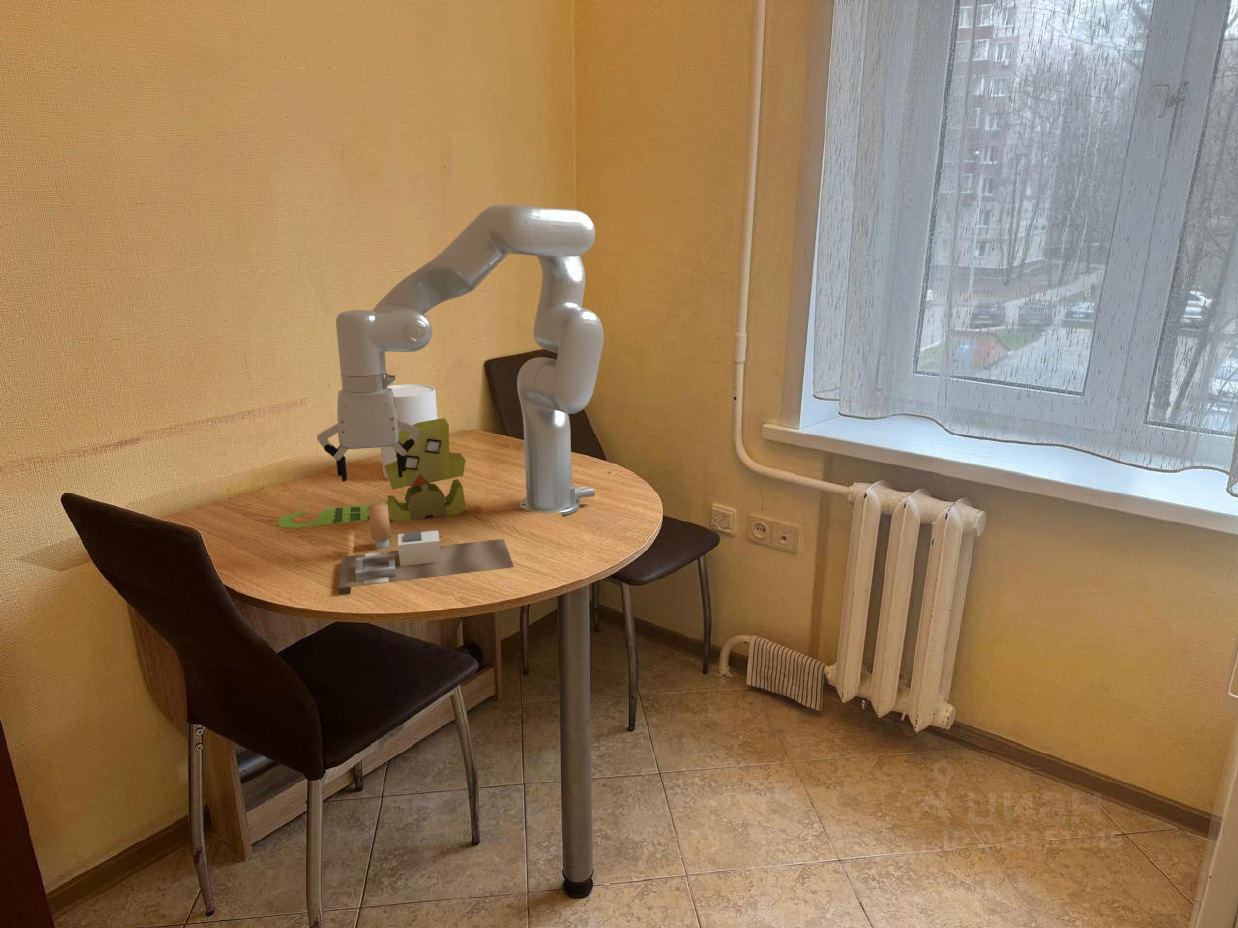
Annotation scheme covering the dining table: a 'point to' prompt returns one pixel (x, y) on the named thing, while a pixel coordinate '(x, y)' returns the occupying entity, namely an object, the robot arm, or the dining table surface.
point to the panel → (452, 562)
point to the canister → (410, 411)
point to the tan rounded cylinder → (380, 524)
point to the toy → (427, 475)
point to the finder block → (419, 548)
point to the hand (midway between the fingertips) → (372, 477)
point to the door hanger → (330, 516)
